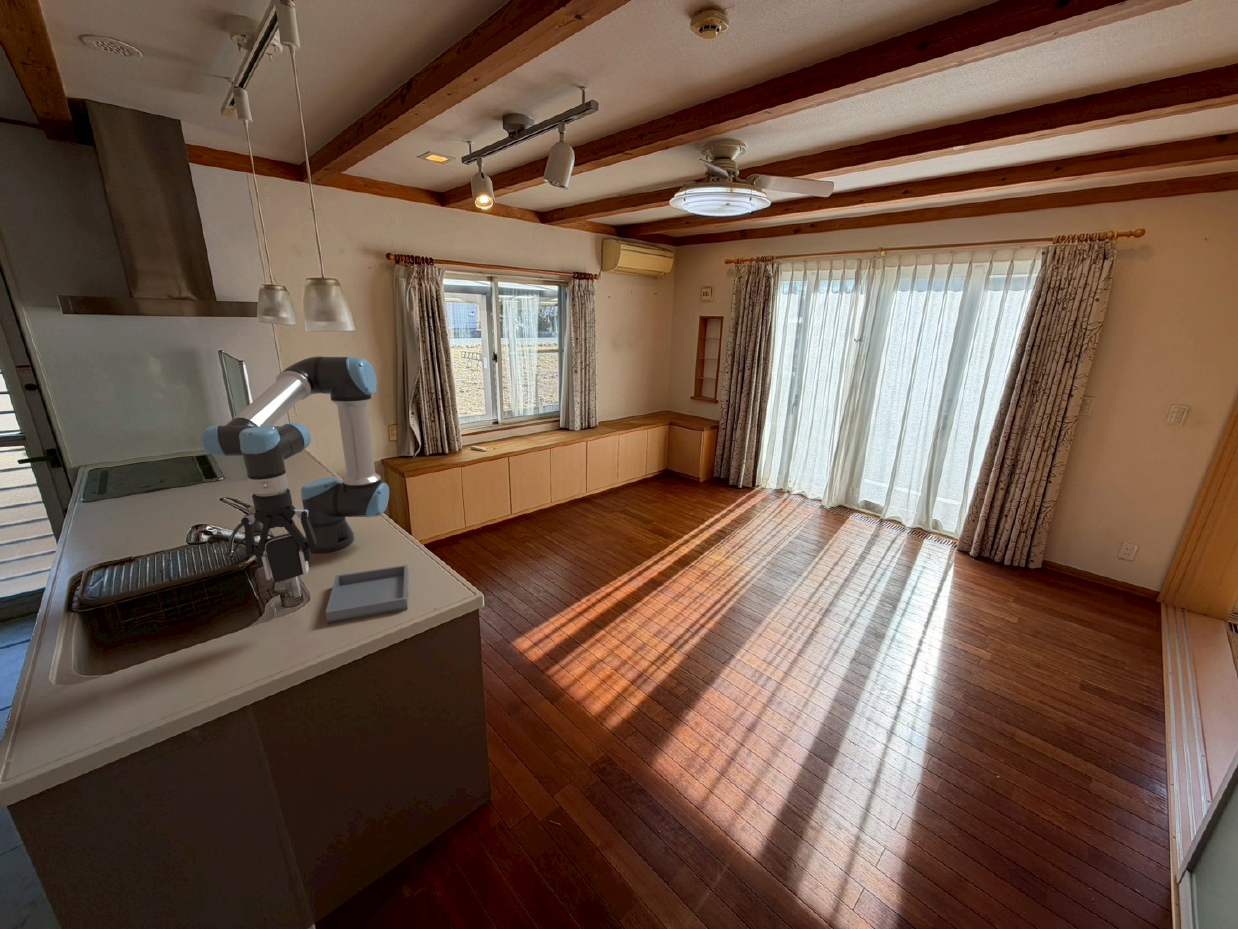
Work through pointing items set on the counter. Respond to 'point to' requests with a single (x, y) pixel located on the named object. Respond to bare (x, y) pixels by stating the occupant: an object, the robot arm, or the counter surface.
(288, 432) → the robot arm
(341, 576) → the tray
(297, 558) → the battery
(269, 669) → the counter surface
